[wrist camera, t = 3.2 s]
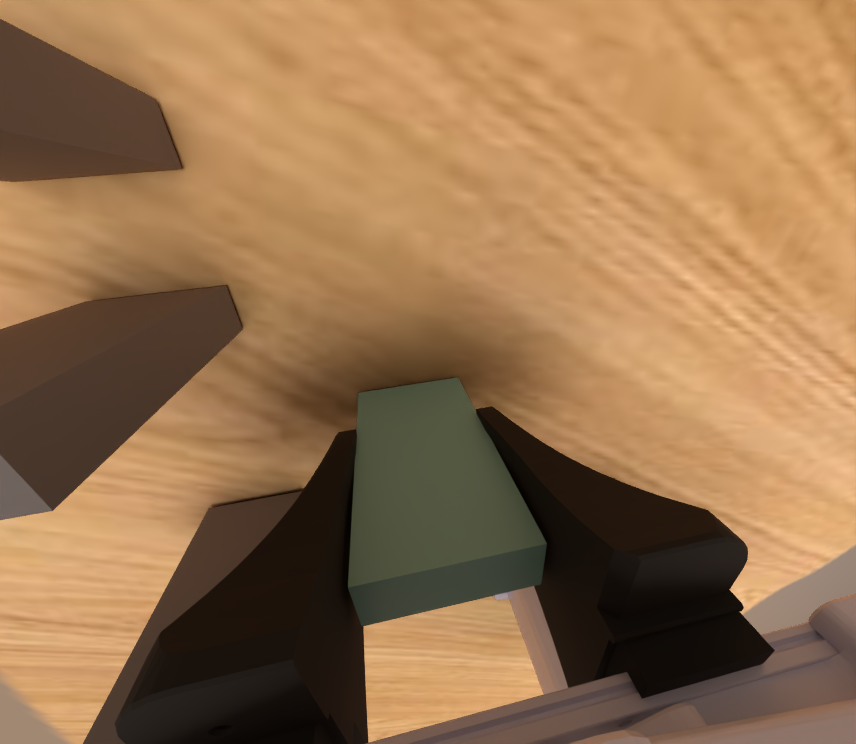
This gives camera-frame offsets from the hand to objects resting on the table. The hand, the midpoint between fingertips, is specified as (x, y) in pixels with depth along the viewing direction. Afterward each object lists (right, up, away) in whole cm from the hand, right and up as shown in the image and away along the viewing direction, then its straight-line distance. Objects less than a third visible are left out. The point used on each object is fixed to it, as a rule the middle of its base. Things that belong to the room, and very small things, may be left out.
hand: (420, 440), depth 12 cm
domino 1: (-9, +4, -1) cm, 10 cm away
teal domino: (0, +1, +2) cm, 3 cm away
